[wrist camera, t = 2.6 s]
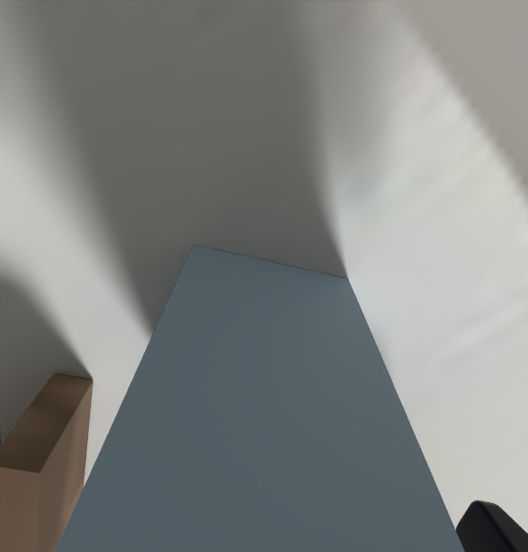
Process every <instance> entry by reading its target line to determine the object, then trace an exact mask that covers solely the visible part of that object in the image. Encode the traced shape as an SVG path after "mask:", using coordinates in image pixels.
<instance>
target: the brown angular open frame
mask: <svg viewBox="0 0 528 552" xmlns="http://www.w3.org/2000/svg"><path fill="white" fill-rule="evenodd" d="M92 386H93V381H92V380H87V379H81V378H76V377H71V376H65V375H60V374H55V373H54V374H53V375H52V377H51V378H50V380H49V381H48V382H47V384H46V385H45V386H44V388H43V389H42V391H41V392H40V393H39V395H38V396H37V397H36V399H35V400H34V401H33V403H32V404H31V406H30V407H29V408H28V410H27V411H26V412H25V414H24V415H23V417H22V418H21V419H20V421H19V422H18V423H17V425H16V426H15V428H14V429H13V430H12V432H11V433H10V434H9V436H8V437H7V438H6V440H5V441H4V443H3V444H2V445H1V448H0V552H55V551H56V548H57V546H58V544H59V542H60V540H61V537H62V535H63V533H64V531H65V528H66V526H67V524H68V522H69V520H70V517H71V515H72V513H73V511H74V508H75V506H76V504H77V502H78V500H79V497H80V495H81V493H82V491H83V484H84V473H85V462H86V451H87V440H88V429H89V419H90V408H91V397H92Z"/></svg>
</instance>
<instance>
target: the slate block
mask: <svg viewBox="0 0 528 552" xmlns="http://www.w3.org/2000/svg"><path fill="white" fill-rule="evenodd" d="M55 552H465V551H464V549H463V546H462V544H461V542H460V539H459V537H458V535H457V532H456V530H455V528H454V525H453V523H452V521H451V518H450V516H449V514H448V511H447V509H446V507H445V504H444V502H443V500H442V497H441V495H440V493H439V490H438V488H437V486H436V483H435V481H434V479H433V476H432V474H431V472H430V469H429V467H428V465H427V462H426V460H425V457H424V455H423V453H422V450H421V448H420V446H419V443H418V441H417V439H416V436H415V434H414V432H413V429H412V427H411V425H410V422H409V420H408V418H407V415H406V413H405V411H404V408H403V406H402V404H401V401H400V399H399V397H398V394H397V392H396V390H395V387H394V385H393V383H392V380H391V378H390V376H389V373H388V371H387V368H386V366H385V364H384V361H383V359H382V357H381V354H380V352H379V350H378V347H377V345H376V343H375V340H374V338H373V336H372V333H371V331H370V329H369V326H368V324H367V322H366V319H365V317H364V315H363V312H362V310H361V308H360V305H359V303H358V301H357V298H356V296H355V294H354V291H353V289H352V287H351V284H350V282H349V280H348V279H346V278H342V277H337V276H333V275H328V274H324V273H319V272H315V271H310V270H306V269H301V268H297V267H292V266H288V265H283V264H279V263H274V262H270V261H265V260H261V259H256V258H252V257H247V256H243V255H238V254H234V253H229V252H225V251H220V250H216V249H212V248H207V247H203V246H198V245H194V244H193V246H192V248H191V251H190V253H189V255H188V257H187V259H186V262H185V264H184V266H183V268H182V271H181V273H180V275H179V277H178V279H177V282H176V284H175V286H174V288H173V291H172V293H171V295H170V297H169V299H168V302H167V304H166V306H165V308H164V311H163V313H162V315H161V317H160V319H159V322H158V324H157V326H156V328H155V331H154V333H153V335H152V337H151V340H150V342H149V344H148V346H147V348H146V351H145V353H144V355H143V357H142V360H141V362H140V364H139V366H138V368H137V371H136V373H135V375H134V377H133V380H132V382H131V384H130V386H129V388H128V391H127V393H126V395H125V397H124V400H123V402H122V404H121V406H120V408H119V411H118V413H117V415H116V417H115V420H114V422H113V424H112V426H111V428H110V431H109V433H108V435H107V437H106V440H105V442H104V444H103V446H102V448H101V451H100V453H99V455H98V457H97V460H96V462H95V464H94V466H93V468H92V471H91V473H90V475H89V477H88V480H87V482H86V484H85V486H84V488H83V491H82V493H81V495H80V497H79V500H78V502H77V504H76V506H75V508H74V511H73V513H72V515H71V517H70V520H69V522H68V524H67V526H66V528H65V531H64V533H63V535H62V537H61V540H60V542H59V544H58V546H57V548H56V551H55Z"/></svg>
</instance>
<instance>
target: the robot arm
mask: <svg viewBox="0 0 528 552" xmlns="http://www.w3.org/2000/svg"><path fill="white" fill-rule="evenodd" d="M0 448H1V441H0ZM456 532H457V535H458V537H459V539H460V542H461V544H462V546H463V549H464V551H465V552H528V533H526V532H525V531H524V530H523V529H522V528H521V527H520V526H519V525H518V524H517V523H516V522H515V521H514V520H513V519H512V518H511V517H510V516H509V515H508V514H507V513H506V512H505V511H504V510H503V509H502V508H500V507H499V506H498V505H496V504H494V503H490V502H485V501H479V500H476V501H474V502H472V503H471V504H470V506H469V507H468V509H467V511H466V512H465V514H464V515H463V517H462V519H461V520H460V522H459V523H458V525H457V527H456Z"/></svg>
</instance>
